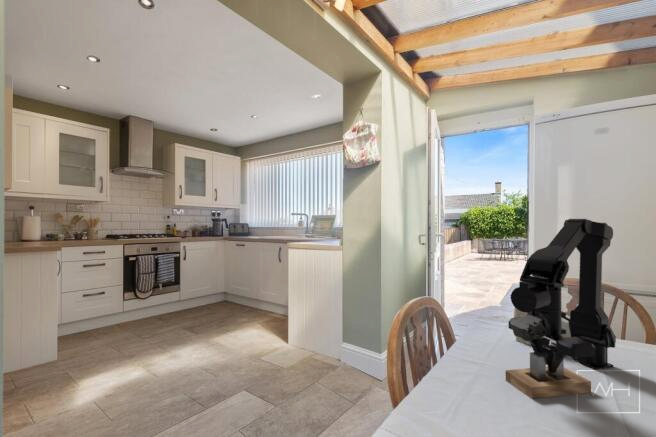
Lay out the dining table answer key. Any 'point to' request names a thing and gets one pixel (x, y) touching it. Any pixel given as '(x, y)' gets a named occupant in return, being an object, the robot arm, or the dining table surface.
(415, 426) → the dining table surface
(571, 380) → the two-slot wooden tray
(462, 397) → the dining table surface
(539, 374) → the clip
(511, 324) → the robot arm
